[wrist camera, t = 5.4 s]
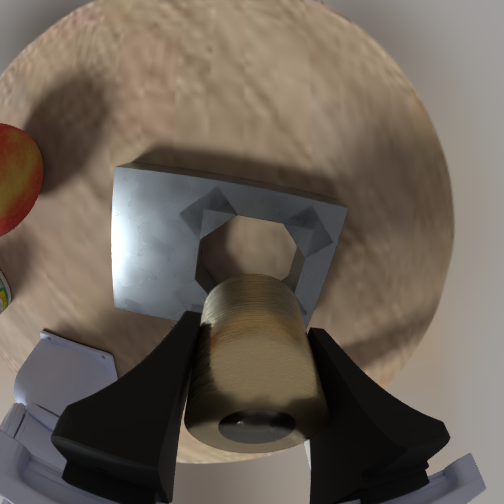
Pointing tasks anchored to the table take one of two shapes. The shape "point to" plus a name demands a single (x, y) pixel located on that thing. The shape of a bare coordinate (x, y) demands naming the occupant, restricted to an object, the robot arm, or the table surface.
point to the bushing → (254, 370)
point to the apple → (18, 176)
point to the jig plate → (201, 224)
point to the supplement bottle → (4, 293)
